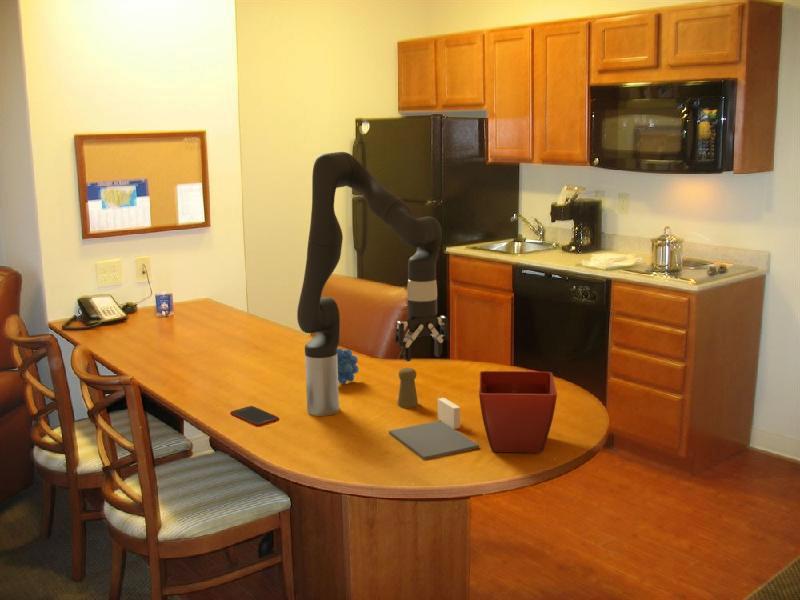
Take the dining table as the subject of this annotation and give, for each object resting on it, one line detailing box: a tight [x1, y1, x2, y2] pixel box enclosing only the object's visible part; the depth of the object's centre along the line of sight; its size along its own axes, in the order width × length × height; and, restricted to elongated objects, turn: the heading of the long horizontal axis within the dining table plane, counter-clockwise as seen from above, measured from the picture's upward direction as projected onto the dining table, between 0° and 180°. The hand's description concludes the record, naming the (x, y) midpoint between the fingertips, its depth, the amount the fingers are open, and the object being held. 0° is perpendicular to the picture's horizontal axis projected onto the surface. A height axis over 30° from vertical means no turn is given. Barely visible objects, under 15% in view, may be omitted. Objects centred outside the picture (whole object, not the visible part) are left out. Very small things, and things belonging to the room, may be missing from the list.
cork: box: [397, 367, 419, 409], centre depth 252 cm, size 6×6×11 cm
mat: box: [388, 420, 480, 461], centre depth 225 cm, size 20×16×1 cm
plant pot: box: [478, 370, 558, 454], centre depth 221 cm, size 19×19×17 cm
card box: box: [437, 397, 461, 430], centre depth 237 cm, size 9×2×6 cm, turn 27°
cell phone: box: [230, 405, 280, 427], centre depth 245 cm, size 8×15×1 cm, turn 43°
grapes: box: [337, 347, 360, 385], centre depth 270 cm, size 12×7×12 cm, turn 127°
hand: (422, 358), depth 220 cm, fingers open, 8 cm apart
